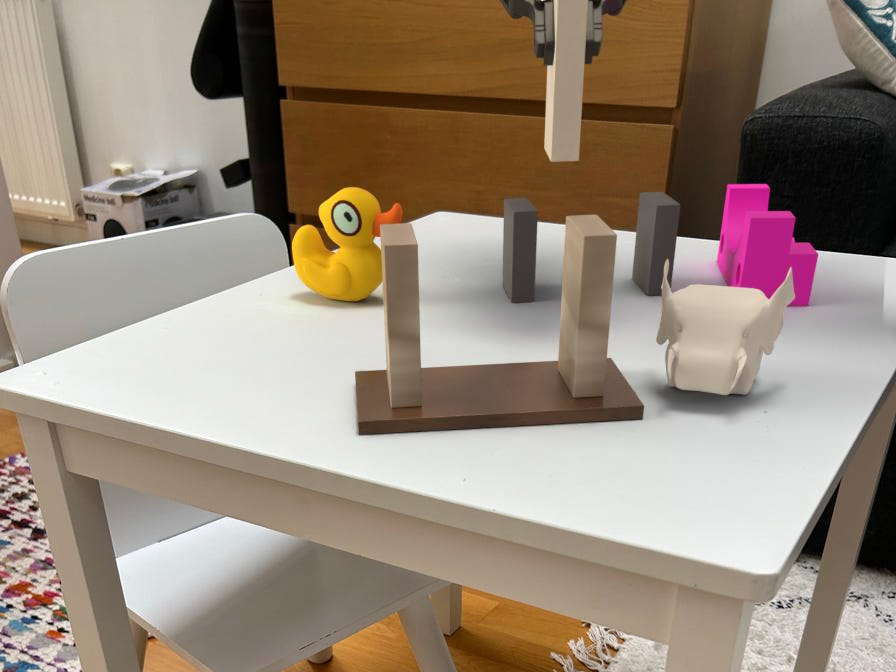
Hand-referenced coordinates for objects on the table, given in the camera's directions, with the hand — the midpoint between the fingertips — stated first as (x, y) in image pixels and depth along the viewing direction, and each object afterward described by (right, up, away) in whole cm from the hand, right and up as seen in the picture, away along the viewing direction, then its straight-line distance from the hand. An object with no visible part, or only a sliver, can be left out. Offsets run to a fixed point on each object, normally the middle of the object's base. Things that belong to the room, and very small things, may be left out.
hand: (569, 56), depth 73 cm
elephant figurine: (+10, -25, +1) cm, 27 cm away
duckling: (-18, -11, +23) cm, 31 cm away
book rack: (-6, -26, 0) cm, 26 cm away
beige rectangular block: (0, -5, +6) cm, 7 cm away
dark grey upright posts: (+5, -9, +23) cm, 25 cm away
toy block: (+22, -9, +23) cm, 33 cm away
